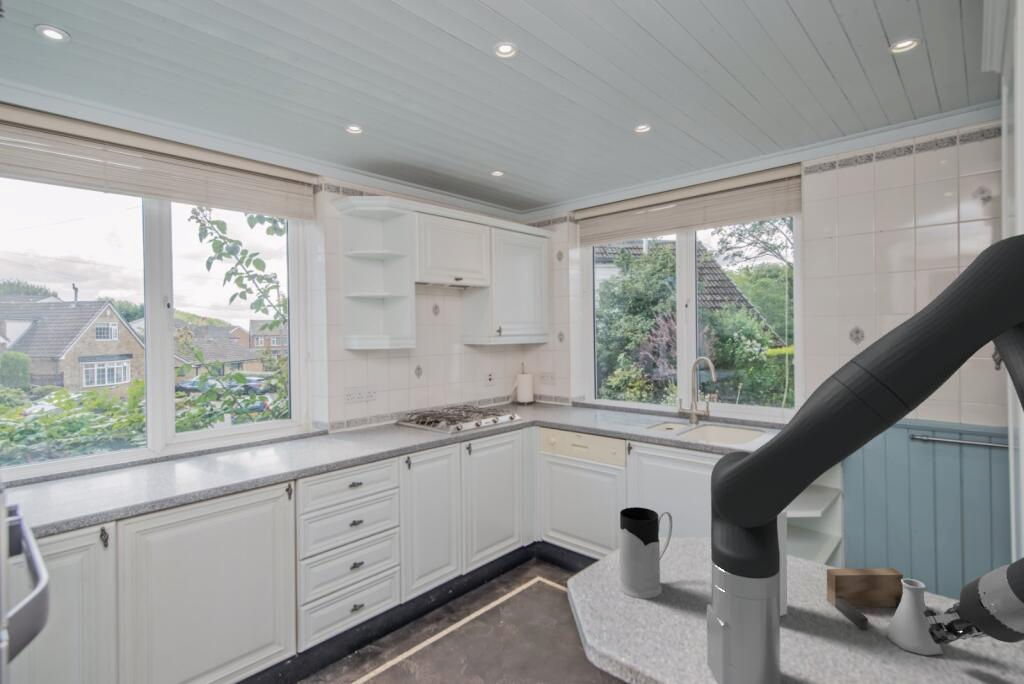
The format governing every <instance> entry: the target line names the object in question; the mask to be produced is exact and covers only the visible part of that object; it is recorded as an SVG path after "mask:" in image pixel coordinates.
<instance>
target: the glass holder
mask: <svg viewBox="0 0 1024 684" xmlns="http://www.w3.org/2000/svg"><path fill="white" fill-rule="evenodd" d="M665 514H667V516H668V531H667V536H666V540H665V541H664V542H665V543H664V545H663V546H662V549H661V551H660V546H661V545H660V539H659V534H660V533H659V532H660V522H661V519H662V518H663V516H664V515H665ZM619 516H620V517H619V521H620V522H619V524H620V525H619V580H618V582H617V587H618V589H619V591H620V592H621V593H622V594H624V595H626V596H627V597H632V598H634V599H641V600H642V599H643V600H646V599H653V598H654V599H655V598H657V597H659V596H661V595H662V592H663V587H662V584H661V564H660V563H661V559H662V557H663V555H664V554H665V552H666V551H667V549H668V547H669V544H670V541H671V537H672V533H673V532H672V531H673V516H672V515H671V513H670V512H669V511H666V510H663V511H661V512H660V513H658V512H657V511H655V510H653V509H650V508H646V507H641V506H640V507H637V506H635V507H633V506H632V507H626V508H622V509H621V510H620V512H619Z"/></svg>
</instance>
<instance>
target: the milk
mask: <svg viewBox="0 0 1024 684" xmlns="http://www.w3.org/2000/svg"><path fill="white" fill-rule="evenodd" d="M787 518H788V513H787V510H786V509H784V510H783V511H782V512H781V513H780V514H778V515H777V529H778V542H779V551H780V617H781V616H786V615H787V614H788V560H787V559H788V547H787V546H788V544H787V543H788V525H787V524H788V522H787V521H788V519H787Z"/></svg>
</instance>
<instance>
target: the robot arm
mask: <svg viewBox="0 0 1024 684" xmlns="http://www.w3.org/2000/svg"><path fill="white" fill-rule="evenodd" d="M990 342H992V343H993V345H994V347H995V349H996V350H997V352H998V355H999V356H1000V358H1001V360H1002V362H1003V363H1004V366H1005V369H1006V370H1007V373H1008V375H1009V377H1010V380H1011V382H1012V385H1013V387H1014V389H1015V392H1016V395H1017V398H1018V400H1019V403H1020V406H1021V408H1022V412H1023V413H1024V233H1022V234H1018V235H1013V236H1010V237H1007V238H1004V239H1001V240H998V241H997V242H995V243H992V244H991V245H989V246H988V247H986V248H985V249H984V250H982V251H981V252H980V253H979V254H978V255H977V256H976V258H975V259H974V260H973V261H972V262H971V263H970V264H969V265H968V266H967V267H966V268H965V269H964V270H963V271H962V272H961V273H960V274H959V275H958V276H957V277H956V278H955V279H954V280H953V281H952V282H951V283H950V284H949V285H947V287H946V288H945V289H943V291H942V292H941V293H940V294H938V295H937V296H936V297H935V298H934V299H932V300H931V302H929V303H928V304H927V305H926V306H925V307H923V308H922V309H921V310H920V311H918V312H917V313H915V314H914V315H912V316H911V317H909V318H908V319H907V320H905V321H903V322H902V323H900V324H899V325H897V326H896V327H894V328H893V329H891V330H890V331H888V332H887V333H886V334H884V335H883V336H881V337H880V338H878V339H877V340H876V341H874V342H873V343H871V344H870V345H869V346H867V347H866V348H865V349H864V350H862V351H861V352H859V353H858V354H856V355H855V356H854V357H852V358H851V359H850V360H849V361H847V362H846V363H844V365H842V366H841V367H840V368H838V369H837V370H836V371H835V372H833V373H832V374H831V375H830V376H828V377H827V378H826V379H825V380H824V381H823V382H822V383H821V384H820V385H819V386H818V387H817V388H816V389H815V390H814V391H813V392H812V394H810V396H809V397H808V398H807V400H806V401H805V402H804V403H803V404H802V405H801V406H800V407H799V409H798V410H797V412H796V413H795V414H794V416H793V417H792V418H791V419H790V420H789V421H788V423H787V424H786V425H785V426H784V428H782V429H781V430H780V431H779V432H778V433H777V434H776V435H775V436H773V437H772V438H771V439H769V440H768V441H767V442H766V443H764V444H763V445H761V446H760V447H758V448H756V450H754V451H753V452H748V451H734V452H729V453H727V454H725V455H724V456H722V457H721V458H719V459H718V461H717V462H716V463H715V465H714V466H713V468H712V470H711V475H710V476H711V477H710V507H711V509H710V514H711V515H710V519H711V521H710V523H711V525H710V538H711V539H710V546H711V549H710V550H711V551H710V552H711V603H708V604H706V646H707V648H706V652H707V653H706V654H707V655H706V657H707V659H706V661H707V662H706V664H707V666H708V668H709V669H710V671H711V673H712V674H713V677H714V679H715V681H716V682H717V683H718V684H781V674H782V673H781V616H780V551H779V542H778V529H777V515H778V514H780V513H781V512H782V511H783V510H786V508H787V507H788V506H789V505H791V503H792V502H794V501H795V500H796V499H797V498H798V497H799V496H800V495H801V494H802V493H803V492H805V490H806V489H807V488H808V487H809V486H810V485H811V484H813V483H814V482H815V481H816V480H817V479H818V478H819V477H821V476H822V475H823V474H824V473H826V472H827V471H829V470H831V469H832V468H833V467H835V466H836V465H838V464H840V463H841V462H843V461H844V460H846V459H847V458H848V457H850V456H852V455H853V454H854V453H855V452H857V451H858V450H860V449H861V448H863V447H864V446H865V445H867V444H868V443H869V442H871V441H872V440H873V439H875V438H876V437H878V436H879V435H881V434H883V433H884V432H885V431H887V430H889V429H890V428H892V426H894V425H896V424H897V423H898V422H899V421H901V420H902V419H903V418H905V417H906V416H907V415H909V414H910V413H911V412H913V411H914V410H916V409H917V408H918V407H919V406H920V405H921V404H923V403H924V402H925V401H926V400H927V399H928V398H930V397H931V396H932V395H933V394H934V393H935V392H937V390H939V389H940V388H941V387H942V386H943V385H944V384H945V383H946V382H947V381H949V379H950V378H951V377H952V376H953V375H955V373H956V372H957V371H959V369H960V368H961V367H963V365H964V364H966V362H967V361H968V360H969V359H971V357H973V356H974V355H975V354H976V353H977V352H978V351H979V350H981V349H982V348H983V347H985V346H986V345H987V344H989V343H990ZM923 613H924V615H925V616H926V618H927V620H928V622H929V624H930V626H931V627H930V628H929V630H928V631H929V633H930V635H931V637H932V639H933V641H934V642H935V643H936V644H939V645H947V644H951V643H953V642H955V641H957V640H963V641H965V640H968V639H969V638H971V639H983V638H987V637H990V638H992V639H995V640H997V641H999V642H1002V643H1008V644H1009V643H1011V644H1012V643H1013V644H1015V643H1019V642H1021V641H1024V557H1021V558H1019V559H1018V560H1016V561H1014V562H1012V563H1009V564H1006V565H1003V566H999V567H997V568H995V569H994V570H991V571H989V572H987V573H985V574H984V575H982V576H980V577H978V578H977V579H974V580H973V581H971V582H969V583H967V584H966V585H964V586H963V587H962V588H961V591H960V593H959V601H958V602H956V603H954V604H953V605H952V607H949V608H947V610H946V611H944V613H943V614H939V612H938V611H934V610H931V609H926V611H924V612H923Z"/></svg>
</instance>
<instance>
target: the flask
mask: <svg viewBox="0 0 1024 684" xmlns="http://www.w3.org/2000/svg"><path fill="white" fill-rule="evenodd" d="M901 582H902V585H903V594H902V598H901V602H900V604H899V606H898V608H897V607H896V610H895V612H894V615H893V616H892V618H891V619H890V621H889V624H888V625H887V627H886V629H885V632H886V635H887V639H888V640H890V641H891V642H892V643H894V644H895V645H896V646H898V647H899V648H901V649H902V651H903V650H904V651H907V652H911V653H916V654H919V655H923V656H933V655H942V654H943V650H942V648H941V647H942V646H941V644H936V643H935V642H934V641H933V639H932V637H931V635H930V633H929V631H928V630H929V628H930V627H931V626H930V624H929V622H928V620H927V618H926V616H925V615H924V613H923V612H924V611H926V610H927V608H926V603H925V591H926V590H927V586H926V584H925V583H924V582H922V581H921V580H917V579H913V578H908V577H907V578H903V579H901Z"/></svg>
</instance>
